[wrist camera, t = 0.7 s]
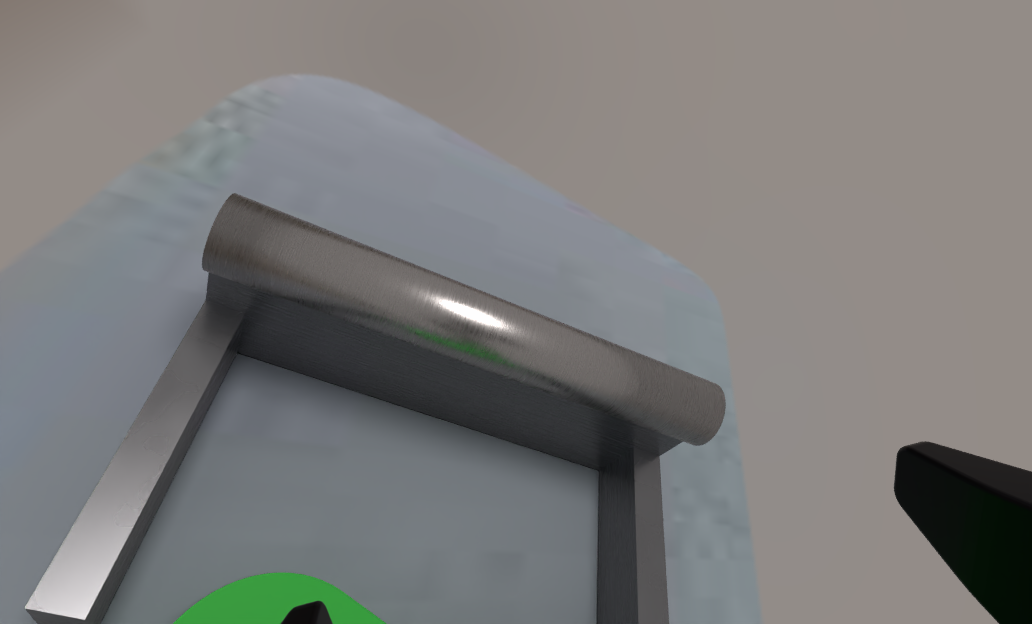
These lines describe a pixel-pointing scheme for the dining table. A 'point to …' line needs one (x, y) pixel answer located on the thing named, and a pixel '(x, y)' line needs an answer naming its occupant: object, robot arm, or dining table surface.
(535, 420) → the bracket
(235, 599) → the mechanical part
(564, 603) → the dining table surface
